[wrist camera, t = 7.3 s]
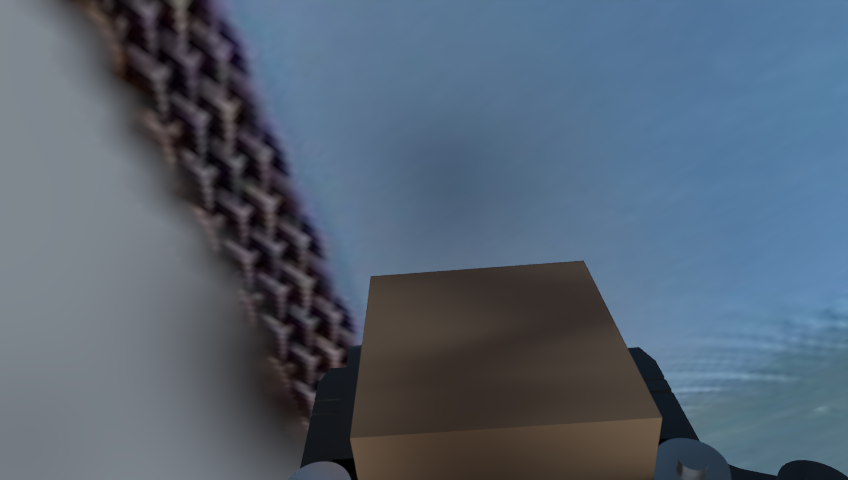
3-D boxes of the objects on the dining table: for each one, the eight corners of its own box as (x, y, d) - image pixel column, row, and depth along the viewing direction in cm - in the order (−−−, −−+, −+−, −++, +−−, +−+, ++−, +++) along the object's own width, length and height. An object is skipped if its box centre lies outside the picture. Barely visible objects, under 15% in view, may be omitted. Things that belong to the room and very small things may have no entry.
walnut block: (583, 260, 14) (662, 417, 9) (574, 418, 16) (634, 604, 12) (370, 276, 14) (350, 438, 10) (392, 431, 16) (384, 618, 12)
